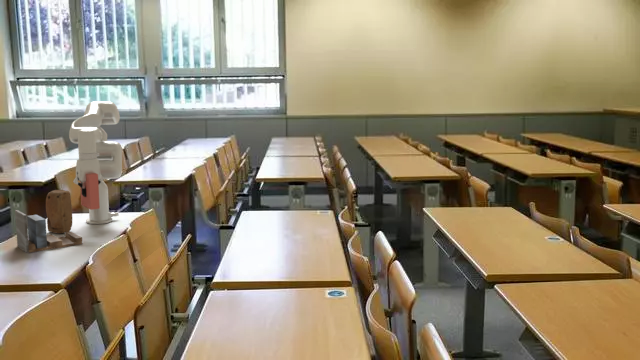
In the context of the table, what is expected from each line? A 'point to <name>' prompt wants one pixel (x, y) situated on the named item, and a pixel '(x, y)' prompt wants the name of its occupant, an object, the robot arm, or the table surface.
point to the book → (91, 192)
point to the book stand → (40, 234)
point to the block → (59, 211)
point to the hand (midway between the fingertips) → (89, 195)
